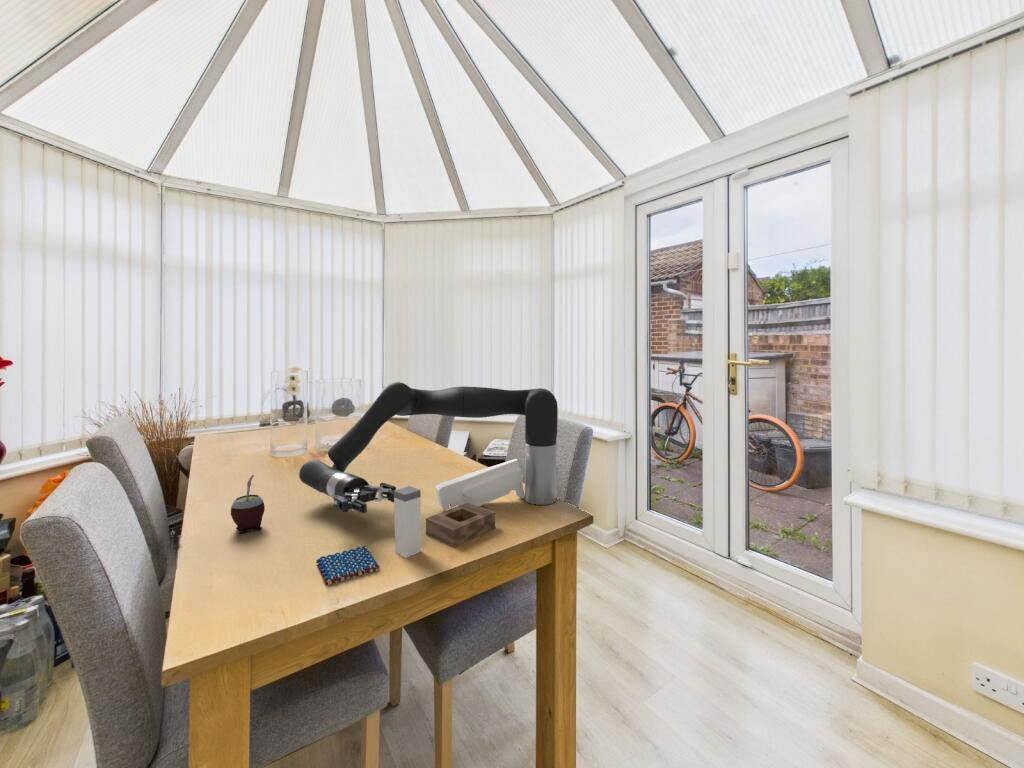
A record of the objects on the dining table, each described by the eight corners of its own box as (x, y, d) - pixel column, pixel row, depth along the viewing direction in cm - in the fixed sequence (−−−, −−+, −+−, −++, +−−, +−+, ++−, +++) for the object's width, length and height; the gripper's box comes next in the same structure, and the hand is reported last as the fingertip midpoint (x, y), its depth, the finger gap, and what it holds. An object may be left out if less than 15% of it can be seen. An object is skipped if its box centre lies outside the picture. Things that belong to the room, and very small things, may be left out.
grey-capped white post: (410, 545, 96) (409, 486, 94) (421, 551, 93) (420, 490, 92) (394, 552, 92) (393, 490, 91) (405, 558, 90) (404, 494, 89)
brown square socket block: (467, 516, 112) (467, 502, 112) (495, 527, 105) (495, 512, 105) (425, 534, 101) (425, 518, 101) (453, 547, 95) (453, 530, 94)
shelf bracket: (528, 501, 124) (520, 461, 122) (448, 532, 114) (439, 490, 112) (520, 495, 129) (512, 457, 127) (443, 524, 119) (433, 484, 117)
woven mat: (381, 572, 85) (381, 563, 85) (325, 589, 79) (325, 579, 79) (366, 552, 93) (366, 543, 93) (315, 565, 87) (315, 556, 87)
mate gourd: (244, 523, 107) (241, 466, 106) (274, 523, 107) (272, 466, 106) (223, 536, 100) (220, 474, 99) (256, 536, 100) (253, 475, 98)
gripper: (319, 481, 103) (353, 496, 93) (371, 468, 114) (407, 480, 104) (321, 510, 104) (354, 528, 93) (372, 495, 115) (407, 510, 104)
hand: (382, 503), depth 99 cm, fingers open, 8 cm apart
